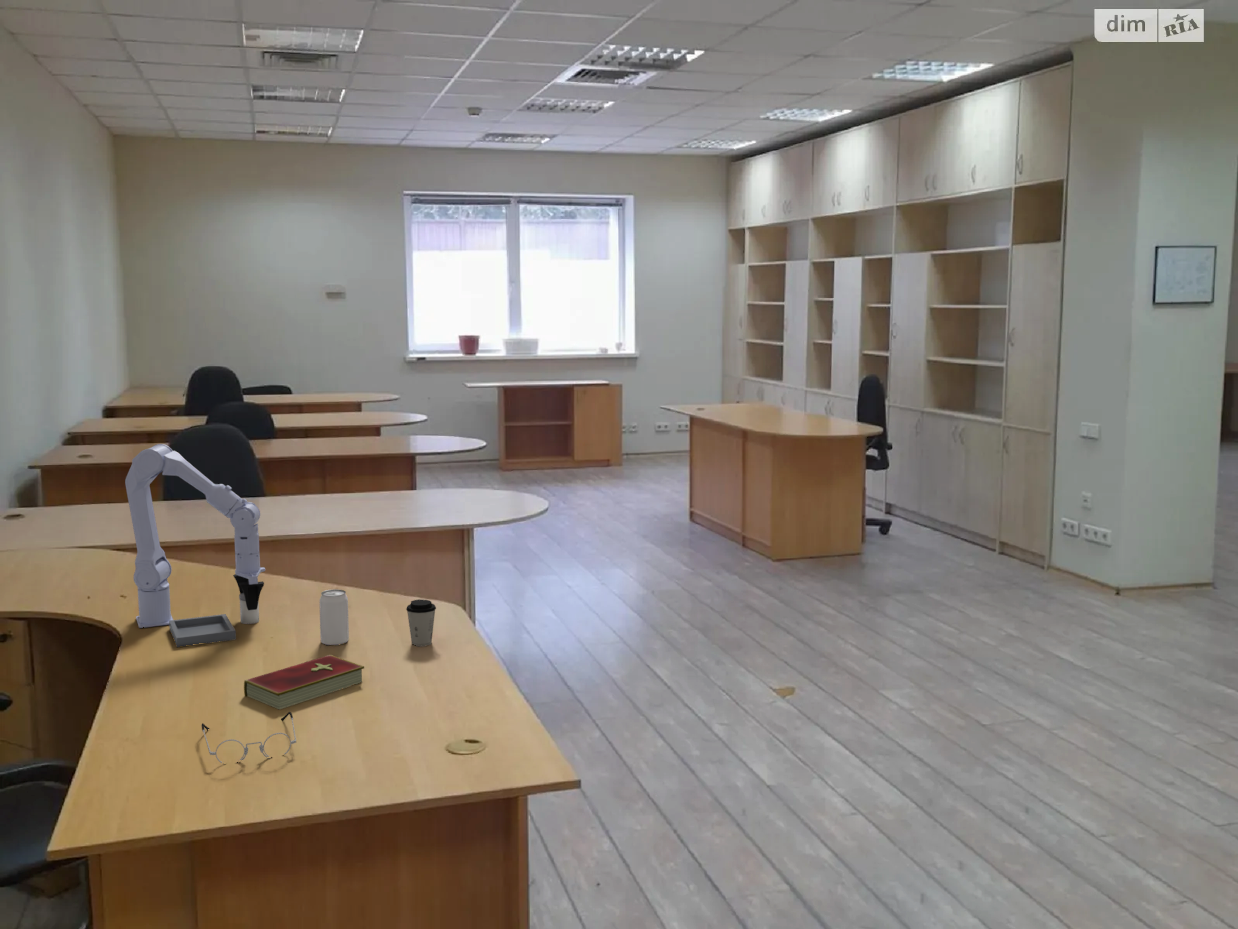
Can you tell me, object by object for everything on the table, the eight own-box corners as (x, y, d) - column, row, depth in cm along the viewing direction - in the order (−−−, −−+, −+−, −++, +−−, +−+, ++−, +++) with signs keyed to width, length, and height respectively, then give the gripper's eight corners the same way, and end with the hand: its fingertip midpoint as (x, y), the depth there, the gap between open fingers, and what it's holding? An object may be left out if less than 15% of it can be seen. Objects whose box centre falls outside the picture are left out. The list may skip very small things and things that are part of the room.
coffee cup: (442, 643, 255) (442, 602, 254) (418, 650, 250) (417, 608, 248) (424, 636, 260) (424, 596, 258) (400, 643, 255) (399, 602, 253)
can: (341, 647, 251) (340, 597, 249) (315, 645, 253) (314, 595, 251) (353, 638, 258) (352, 590, 256) (328, 636, 259) (327, 588, 257)
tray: (169, 629, 262) (169, 620, 262) (225, 622, 268) (225, 614, 268) (176, 647, 249) (176, 638, 249) (235, 639, 255) (235, 630, 255)
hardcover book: (244, 698, 220) (243, 678, 220) (329, 671, 236) (329, 653, 236) (278, 713, 213) (278, 692, 212) (364, 684, 229) (364, 665, 228)
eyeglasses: (206, 772, 186) (205, 744, 185) (200, 732, 203) (199, 707, 202) (302, 758, 192) (301, 731, 192) (289, 720, 209) (288, 695, 208)
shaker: (238, 620, 271) (237, 593, 270) (257, 617, 273) (256, 591, 272) (241, 625, 267) (240, 597, 266) (261, 622, 269) (260, 595, 268)
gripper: (269, 557, 263) (271, 611, 265) (258, 544, 275) (260, 596, 277) (239, 560, 259) (241, 614, 261) (229, 547, 272) (232, 599, 274)
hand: (249, 605), depth 269 cm, fingers open, 7 cm apart
